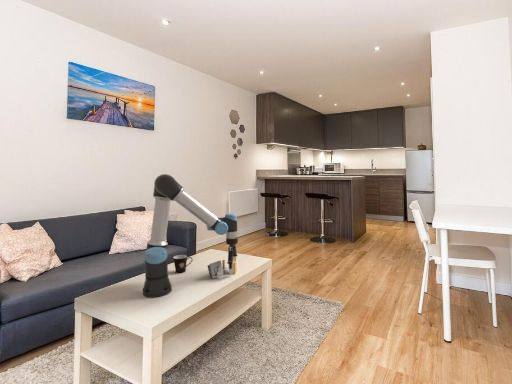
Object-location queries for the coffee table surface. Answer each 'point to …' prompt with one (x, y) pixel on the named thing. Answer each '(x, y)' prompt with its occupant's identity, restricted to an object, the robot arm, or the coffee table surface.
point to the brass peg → (223, 264)
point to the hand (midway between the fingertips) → (232, 269)
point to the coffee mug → (180, 263)
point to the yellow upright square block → (233, 267)
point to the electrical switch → (215, 269)
